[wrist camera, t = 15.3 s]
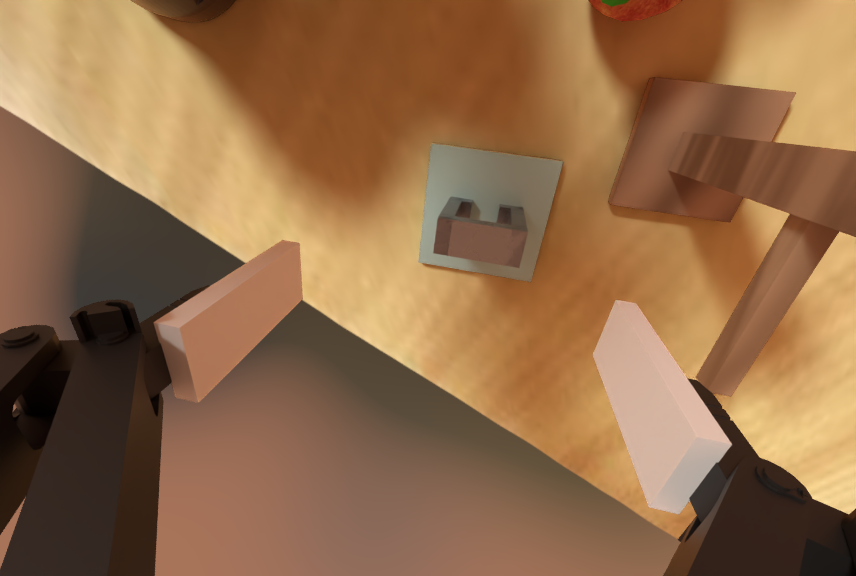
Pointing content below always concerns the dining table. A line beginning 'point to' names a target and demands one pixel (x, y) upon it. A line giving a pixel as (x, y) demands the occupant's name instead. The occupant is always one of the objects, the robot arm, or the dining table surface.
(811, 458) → the dining table surface
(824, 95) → the dining table surface
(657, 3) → the fruit
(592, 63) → the dining table surface
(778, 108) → the stand
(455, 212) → the c link
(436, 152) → the coaster
